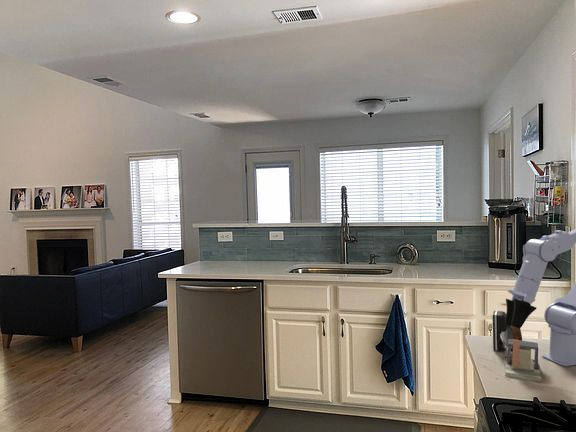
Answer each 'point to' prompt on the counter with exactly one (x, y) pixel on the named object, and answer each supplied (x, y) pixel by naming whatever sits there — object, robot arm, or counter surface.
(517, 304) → the robot arm
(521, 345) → the grey box
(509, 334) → the tin
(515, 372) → the track board
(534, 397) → the counter surface
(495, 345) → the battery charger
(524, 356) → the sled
